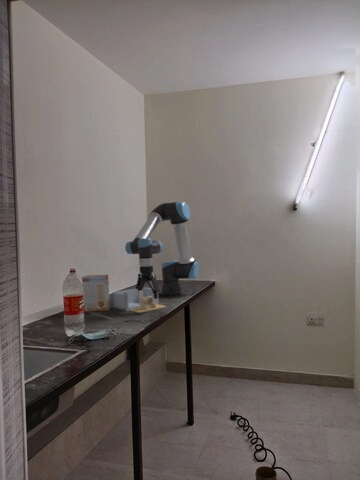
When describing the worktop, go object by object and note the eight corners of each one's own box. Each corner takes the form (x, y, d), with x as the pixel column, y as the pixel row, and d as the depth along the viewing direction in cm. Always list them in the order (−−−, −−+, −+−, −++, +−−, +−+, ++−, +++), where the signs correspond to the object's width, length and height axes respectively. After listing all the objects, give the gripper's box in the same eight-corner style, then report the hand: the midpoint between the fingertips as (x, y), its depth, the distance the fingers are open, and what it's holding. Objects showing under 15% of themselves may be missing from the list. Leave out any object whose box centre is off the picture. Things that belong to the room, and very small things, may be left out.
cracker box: (110, 310, 227) (108, 274, 226) (106, 312, 221) (104, 275, 220) (88, 310, 230) (86, 274, 229) (83, 312, 224) (81, 276, 223)
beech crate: (149, 306, 225) (148, 295, 224) (156, 307, 219) (155, 297, 219) (140, 308, 221) (139, 297, 220) (147, 309, 215) (146, 298, 215)
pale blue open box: (144, 303, 242) (143, 285, 242) (158, 306, 231) (157, 287, 231) (113, 309, 229) (112, 290, 228) (126, 312, 217) (125, 293, 217)
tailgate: (157, 304, 230) (166, 306, 222) (157, 306, 230) (166, 308, 222) (129, 309, 218) (138, 311, 210) (129, 312, 218) (139, 314, 210)
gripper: (128, 265, 227) (130, 301, 227) (153, 267, 207) (155, 306, 208) (139, 264, 231) (141, 299, 232) (164, 265, 212) (166, 304, 213)
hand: (148, 303), depth 220 cm, fingers open, 13 cm apart
